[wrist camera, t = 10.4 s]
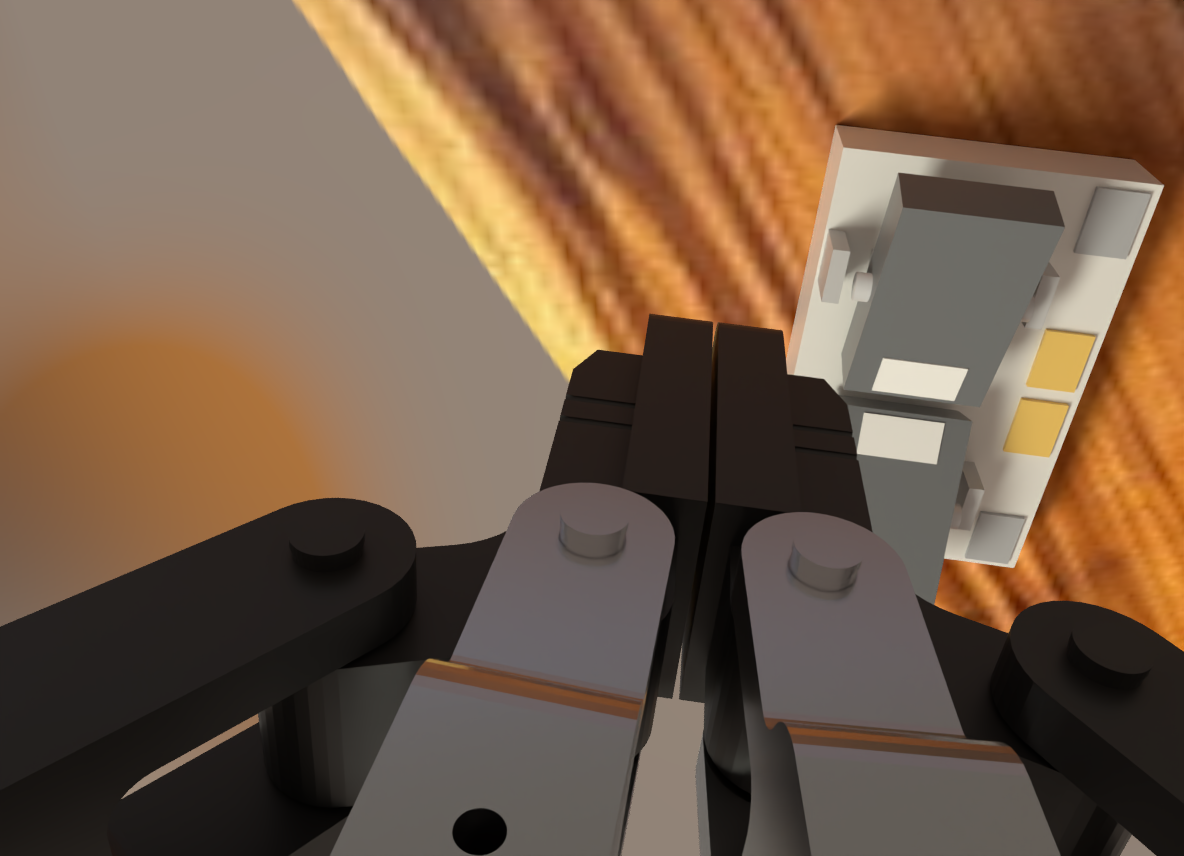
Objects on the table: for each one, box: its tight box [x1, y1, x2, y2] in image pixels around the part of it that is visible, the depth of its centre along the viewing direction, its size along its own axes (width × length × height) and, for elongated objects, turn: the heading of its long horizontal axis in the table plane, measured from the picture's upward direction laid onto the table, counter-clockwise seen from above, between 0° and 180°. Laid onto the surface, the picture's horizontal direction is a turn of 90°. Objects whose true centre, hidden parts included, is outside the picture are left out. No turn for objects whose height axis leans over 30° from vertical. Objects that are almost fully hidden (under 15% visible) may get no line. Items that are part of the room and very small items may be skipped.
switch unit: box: [786, 125, 1164, 568], centre depth 40 cm, size 11×17×5 cm, turn 175°
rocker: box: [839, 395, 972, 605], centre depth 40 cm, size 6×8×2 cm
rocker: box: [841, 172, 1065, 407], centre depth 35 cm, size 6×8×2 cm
